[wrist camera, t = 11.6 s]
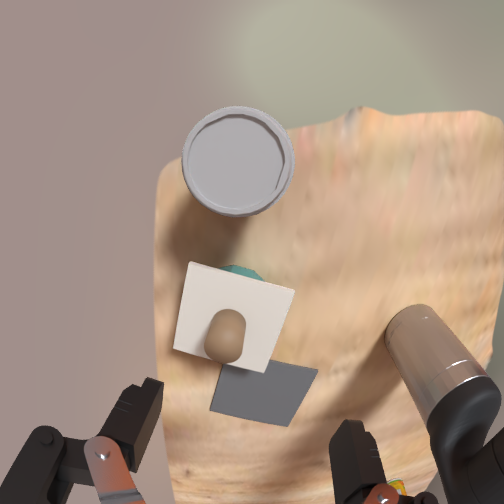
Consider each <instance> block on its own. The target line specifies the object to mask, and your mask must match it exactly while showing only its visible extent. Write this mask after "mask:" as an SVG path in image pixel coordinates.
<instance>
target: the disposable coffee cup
mask: <svg viewBox="0 0 504 504" xmlns="http://www.w3.org/2000/svg"><path fill="white" fill-rule="evenodd" d="M294 167H295V157H294V150H293V146H292V142H291V140H290V138H289V136H288V134H287V132H286V131H285V130H284V128H283V127H282V126H281V125H280V123H279V122H277V121H276V120H275V119H274V118H273V117H271V116H270V115H268V114H267V113H265V112H262V111H261V110H258V109H255V108H251V107H244V106H233V107H226V108H222V109H219V110H217V111H214V112H212V113H210V114H209V115H207V116H206V117H204V118H203V119H202V120H201V121H199V122H198V123H197V124H196V125H195V127H194V128H193V129H192V131H191V132H190V133H189V136H188V137H187V139H186V141H185V145H184V148H183V152H182V172H183V176H184V180H185V182H186V185H187V187H188V189H189V190H190V192H191V193H192V195H193V196H194V197H195V198H196V199H197V200H198V202H199V203H200V204H202V205H203V206H205V207H206V208H208V209H209V210H211V211H212V212H215V213H217V214H220V215H223V216H228V217H247V216H252V215H256V214H259V213H261V212H263V211H265V210H267V209H269V208H270V207H271V206H273V205H274V204H275V203H277V202H278V200H279V199H280V198H281V197H282V196H283V195H284V194H285V192H286V190H287V188H288V187H289V185H290V182H291V180H292V177H293V172H294Z"/></svg>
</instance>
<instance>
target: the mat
mask: <svg viewBox="0 0 504 504" xmlns="http://www.w3.org/2000/svg"><path fill="white" fill-rule="evenodd" d="M317 373H318V370H317V369H311V368H306V367H301V366H296V365H292V364H287V363H282V362H278V361H273V360H269V362H268V365H267V367H266V370H265V372H264V373H262V372H257V371H253V370H249V369H245V368H241V367H237V366H233V365H229V364H223V367H222V371H221V374H220V377H219V381H218V384H217V388H216V391H215V394H214V398H213V401H212V404H211V408H210V411H214V412H218V413H222V414H226V415H230V416H234V417H239V418H243V419H248V420H253V421H258V422H263V423H268V424H274V425H280V426H286V427H288V425H289V424H290V422H291V420H292V418H293V417H294V415H295V413H296V411H297V410H298V408H299V406H300V404H301V403H302V401H303V399H304V397H305V395H306V393H307V392H308V390H309V388H310V386H311V384H312V382H313V380H314V378H315V377H316V375H317Z"/></svg>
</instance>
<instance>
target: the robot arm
mask: <svg viewBox="0 0 504 504" xmlns="http://www.w3.org/2000/svg"><path fill="white" fill-rule="evenodd" d="M385 344H386V347H387V349H388V351H389V353H390V355H391V357H392V358H393V360H394V363H395V365H396V366H397V368H398V370H399V372H400V374H401V376H402V378H403V380H404V382H405V384H406V386H407V388H408V390H409V392H410V394H411V396H412V399H413V401H414V403H415V405H416V407H417V409H418V411H419V413H420V415H421V417H422V419H423V422H424V424H425V426H426V428H427V431H428V433H429V435H430V446H431V451H432V454H433V456H434V459H435V462H436V465H437V468H438V471H439V474H440V477H441V481H442V484H443V487H444V491H445V495H446V498H447V501H448V504H504V427H503V428H502V430H500V431H499V432H498V433H497V434H496V435H495V436H494V437H493V438H492V439H491V440H490V441H489V442H488V443H487V444H486V445H485V446H484V447H483V444H484V441H485V438H486V436H487V433H488V431H489V429H490V427H491V425H492V423H493V421H494V419H495V417H496V416H497V414H498V411H499V409H500V406H501V393H500V391H499V389H498V387H497V386H496V385H495V383H494V382H493V381H492V379H491V378H490V377H489V375H488V374H487V373H486V372H485V370H484V369H483V368H482V367H481V365H480V364H479V363H478V362H477V361H476V359H475V358H474V357H473V356H472V354H471V353H470V352H469V351H468V350H467V348H466V347H465V346H464V345H463V344H462V342H461V341H460V340H459V339H458V338H457V337H456V335H455V334H454V333H453V332H452V331H451V330H450V328H449V327H448V326H447V325H446V324H445V323H444V322H443V320H442V319H441V318H440V317H439V316H438V315H437V314H436V313H435V312H434V311H433V309H432V308H430V307H428V306H426V305H413V306H410V307H408V308H406V309H404V310H402V311H401V312H399V313H398V314H397V315H396V316H395V317H394V318H393V319H392V321H391V322H390V324H389V325H388V327H387V330H386V333H385ZM163 389H164V382H161V381H158V380H155V379H152V378H149V377H147V378H146V379H145V381H144V383H143V385H142V387H139V386H136V385H134V384H132V385H131V386H129V387H128V388H126V389H125V390H123V392H122V394H121V396H120V397H119V399H118V401H117V402H116V404H115V406H114V408H113V409H112V411H111V413H110V415H109V416H108V418H107V420H106V422H105V424H104V425H103V427H102V429H101V431H100V432H99V433H98V434H97V435H96V436H95V437H92V438H90V439H88V440H78V439H72V438H67V437H63V436H62V435H61V433H60V432H59V431H58V430H57V429H55V428H54V427H51V426H39V427H37V428H36V429H34V430H33V431H32V433H31V434H30V436H29V438H28V439H27V441H26V443H25V445H24V446H23V448H22V450H21V451H20V453H19V454H18V456H17V458H16V460H15V461H14V463H13V465H12V466H11V468H10V470H9V472H8V474H7V475H6V477H5V479H4V481H3V483H2V485H1V487H0V504H66V501H67V499H68V496H69V494H70V492H71V489H72V487H73V484H74V483H77V484H83V485H89V486H95V487H96V490H97V493H98V496H99V499H100V502H101V504H146V503H145V501H144V499H143V498H142V495H141V494H140V493H139V492H138V490H137V488H136V486H135V484H134V482H133V480H132V478H131V475H130V473H129V471H132V472H134V473H137V470H138V467H139V465H140V463H141V460H142V457H143V455H144V453H145V450H146V448H147V445H148V443H149V440H150V437H151V435H152V433H153V430H154V428H155V425H156V423H157V420H158V418H159V415H160V412H161V408H162V400H163ZM377 450H378V448H377V444H376V441H375V439H374V438H373V436H372V435H371V434H370V432H365V429H364V425H363V422H362V421H360V420H347V419H346V420H344V421H343V422H342V424H341V425H340V427H339V428H338V430H337V431H336V433H335V434H334V435H333V437H332V438H331V440H330V443H329V456H330V463H331V471H332V479H333V487H334V495H335V504H438V500H437V498H436V497H435V496H434V495H433V494H432V493H429V492H421V493H419V494H418V495H416V496H415V497H411V496H406V495H401V494H398V492H397V490H396V489H395V488H394V487H393V486H391V485H389V484H387V481H386V478H385V474H384V470H383V466H382V462H381V459H380V458H379V456H380V455H379V451H377Z"/></svg>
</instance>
